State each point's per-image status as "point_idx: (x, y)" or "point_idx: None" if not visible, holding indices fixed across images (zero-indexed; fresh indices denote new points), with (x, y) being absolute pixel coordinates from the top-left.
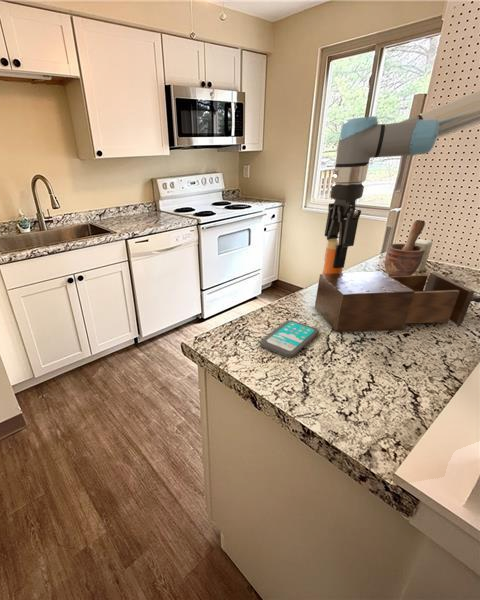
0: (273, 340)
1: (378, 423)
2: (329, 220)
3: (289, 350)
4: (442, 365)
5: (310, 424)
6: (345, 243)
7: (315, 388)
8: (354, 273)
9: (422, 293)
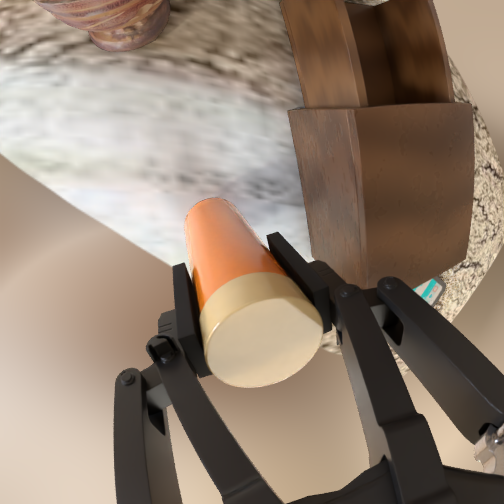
0: None
1: (500, 211)
2: (179, 495)
3: (441, 289)
4: None
5: (493, 259)
6: (400, 320)
7: (475, 256)
8: (374, 212)
9: (449, 72)
